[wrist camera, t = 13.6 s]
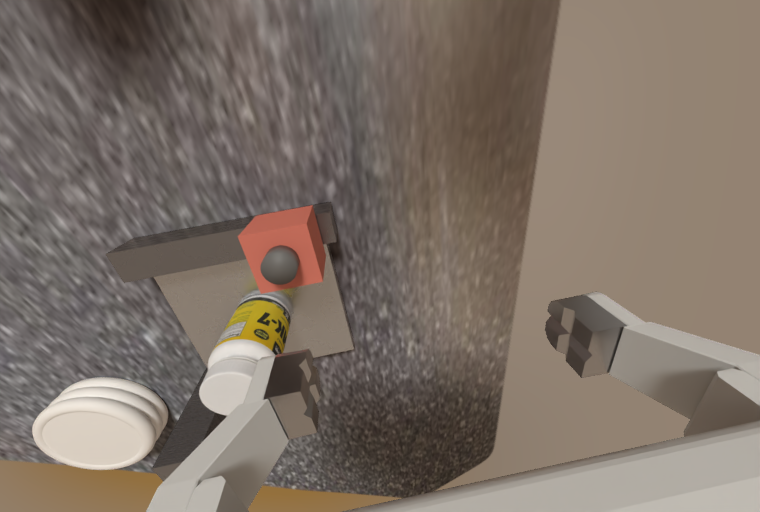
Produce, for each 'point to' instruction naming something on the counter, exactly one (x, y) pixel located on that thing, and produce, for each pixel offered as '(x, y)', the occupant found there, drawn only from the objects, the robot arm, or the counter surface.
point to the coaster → (101, 424)
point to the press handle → (284, 249)
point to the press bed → (228, 304)
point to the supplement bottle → (243, 351)
